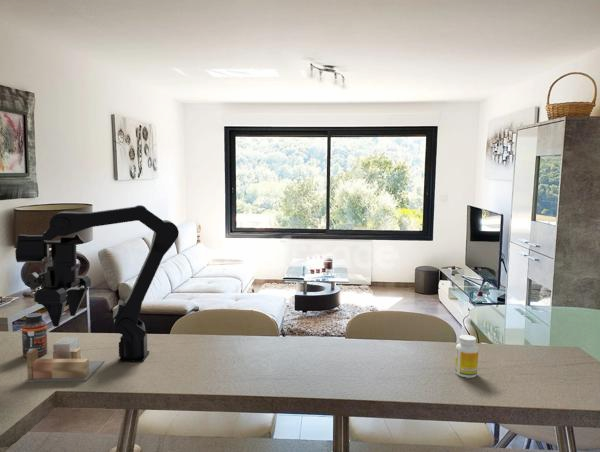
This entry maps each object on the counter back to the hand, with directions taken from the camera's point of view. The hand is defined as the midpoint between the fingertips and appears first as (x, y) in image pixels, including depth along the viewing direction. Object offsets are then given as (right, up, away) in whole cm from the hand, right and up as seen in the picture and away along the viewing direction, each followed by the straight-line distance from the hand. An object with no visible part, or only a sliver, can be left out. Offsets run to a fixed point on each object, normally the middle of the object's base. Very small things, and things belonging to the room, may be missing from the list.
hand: (64, 320), depth 118 cm
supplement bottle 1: (-13, -11, +9) cm, 19 cm away
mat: (+2, -12, -2) cm, 13 cm away
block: (+1, -12, -2) cm, 12 cm away
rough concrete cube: (0, -10, +1) cm, 10 cm away
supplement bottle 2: (+103, -13, -2) cm, 104 cm away
